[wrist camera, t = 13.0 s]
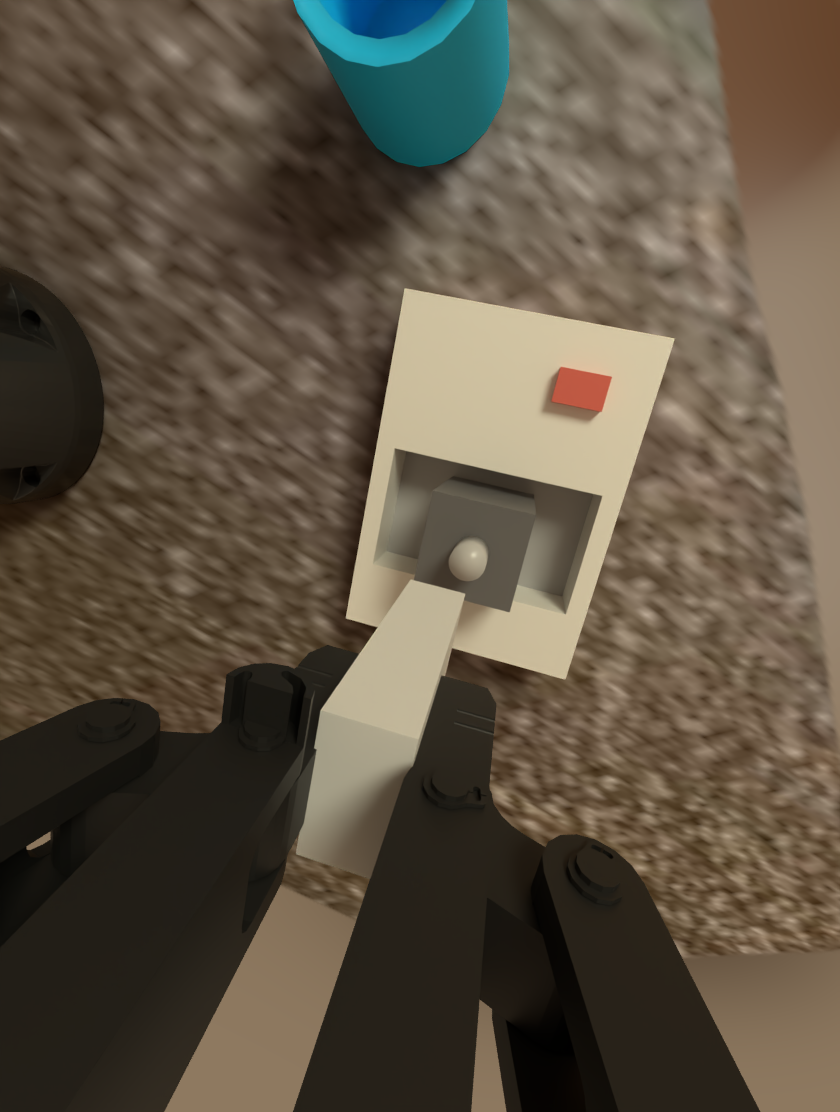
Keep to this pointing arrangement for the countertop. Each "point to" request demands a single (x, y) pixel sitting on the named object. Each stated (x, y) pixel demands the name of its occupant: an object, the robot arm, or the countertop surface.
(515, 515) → the plug
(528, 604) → the socket plate
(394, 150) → the mug
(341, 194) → the countertop surface
